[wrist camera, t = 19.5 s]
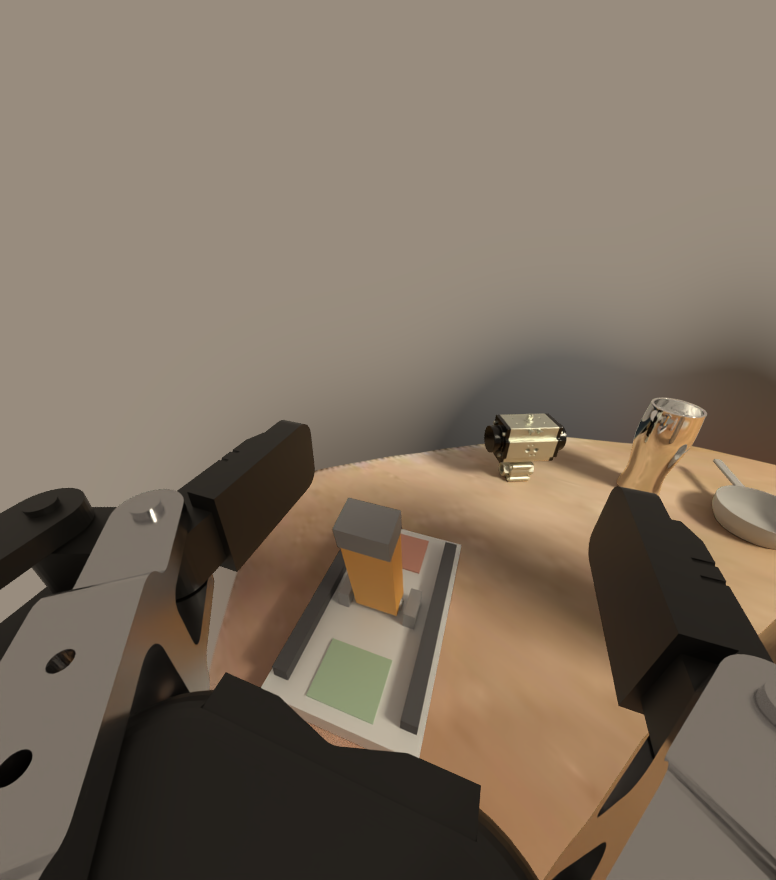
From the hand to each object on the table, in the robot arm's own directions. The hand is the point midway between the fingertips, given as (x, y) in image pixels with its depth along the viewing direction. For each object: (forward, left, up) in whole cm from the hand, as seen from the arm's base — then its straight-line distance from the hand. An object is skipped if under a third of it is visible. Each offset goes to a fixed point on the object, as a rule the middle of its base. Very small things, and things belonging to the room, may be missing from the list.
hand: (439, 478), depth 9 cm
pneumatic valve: (-42, -16, -30) cm, 54 cm away
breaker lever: (-8, -12, -27) cm, 31 cm away
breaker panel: (-8, -12, -30) cm, 33 cm away
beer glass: (-55, -1, -30) cm, 63 cm away
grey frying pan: (-61, +11, -30) cm, 69 cm away
